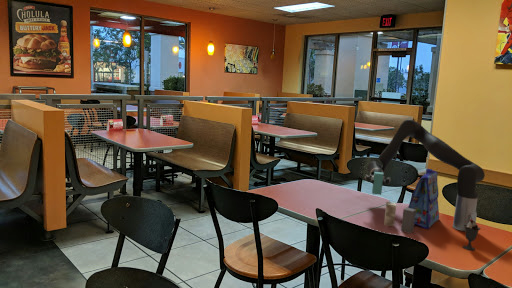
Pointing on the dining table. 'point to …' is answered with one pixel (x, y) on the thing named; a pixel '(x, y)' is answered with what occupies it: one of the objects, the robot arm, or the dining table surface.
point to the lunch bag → (426, 200)
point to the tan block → (390, 214)
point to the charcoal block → (408, 220)
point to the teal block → (377, 183)
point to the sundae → (471, 233)
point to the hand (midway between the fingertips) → (378, 182)
